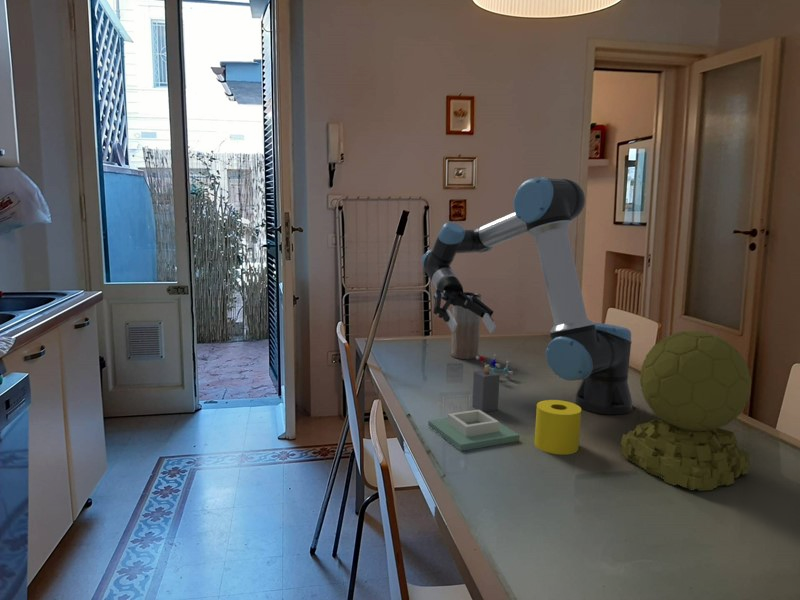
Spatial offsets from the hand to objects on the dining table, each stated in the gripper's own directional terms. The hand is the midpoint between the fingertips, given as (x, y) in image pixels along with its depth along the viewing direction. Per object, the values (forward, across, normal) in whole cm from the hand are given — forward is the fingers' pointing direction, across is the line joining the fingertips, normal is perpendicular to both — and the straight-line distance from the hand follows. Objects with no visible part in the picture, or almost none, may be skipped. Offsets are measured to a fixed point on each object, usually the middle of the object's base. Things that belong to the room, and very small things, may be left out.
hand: (474, 329), depth 175 cm
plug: (+21, +2, -10) cm, 24 cm away
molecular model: (0, -17, -20) cm, 26 cm away
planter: (-24, -22, -32) cm, 46 cm away
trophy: (+61, -18, +15) cm, 65 cm away
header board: (+34, +14, -5) cm, 37 cm away
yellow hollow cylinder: (+45, 0, +3) cm, 45 cm away
